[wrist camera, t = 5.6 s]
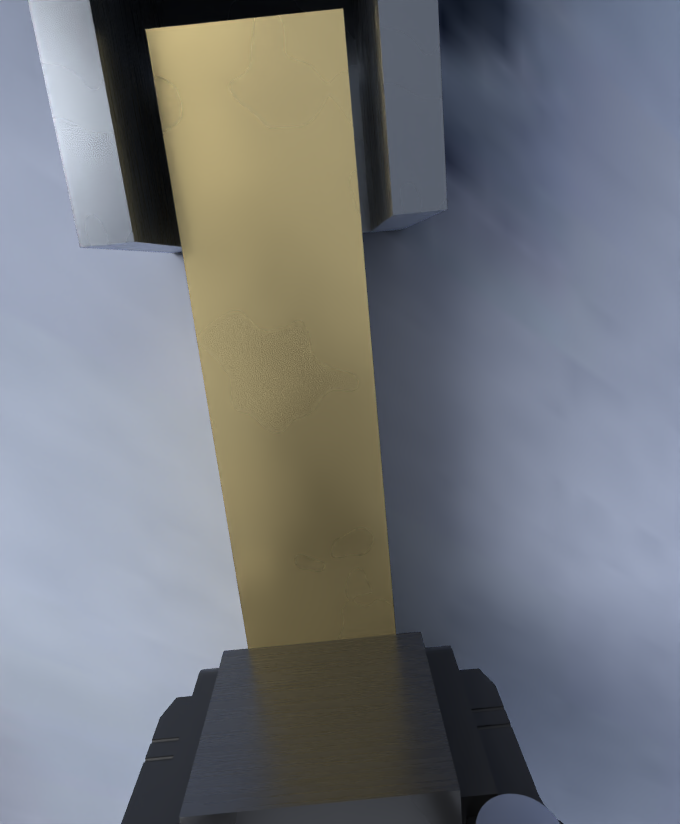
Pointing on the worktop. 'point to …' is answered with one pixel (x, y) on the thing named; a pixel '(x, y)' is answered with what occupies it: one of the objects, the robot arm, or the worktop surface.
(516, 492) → the worktop surface
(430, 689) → the yellow bar
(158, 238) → the sleeve
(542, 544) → the worktop surface
